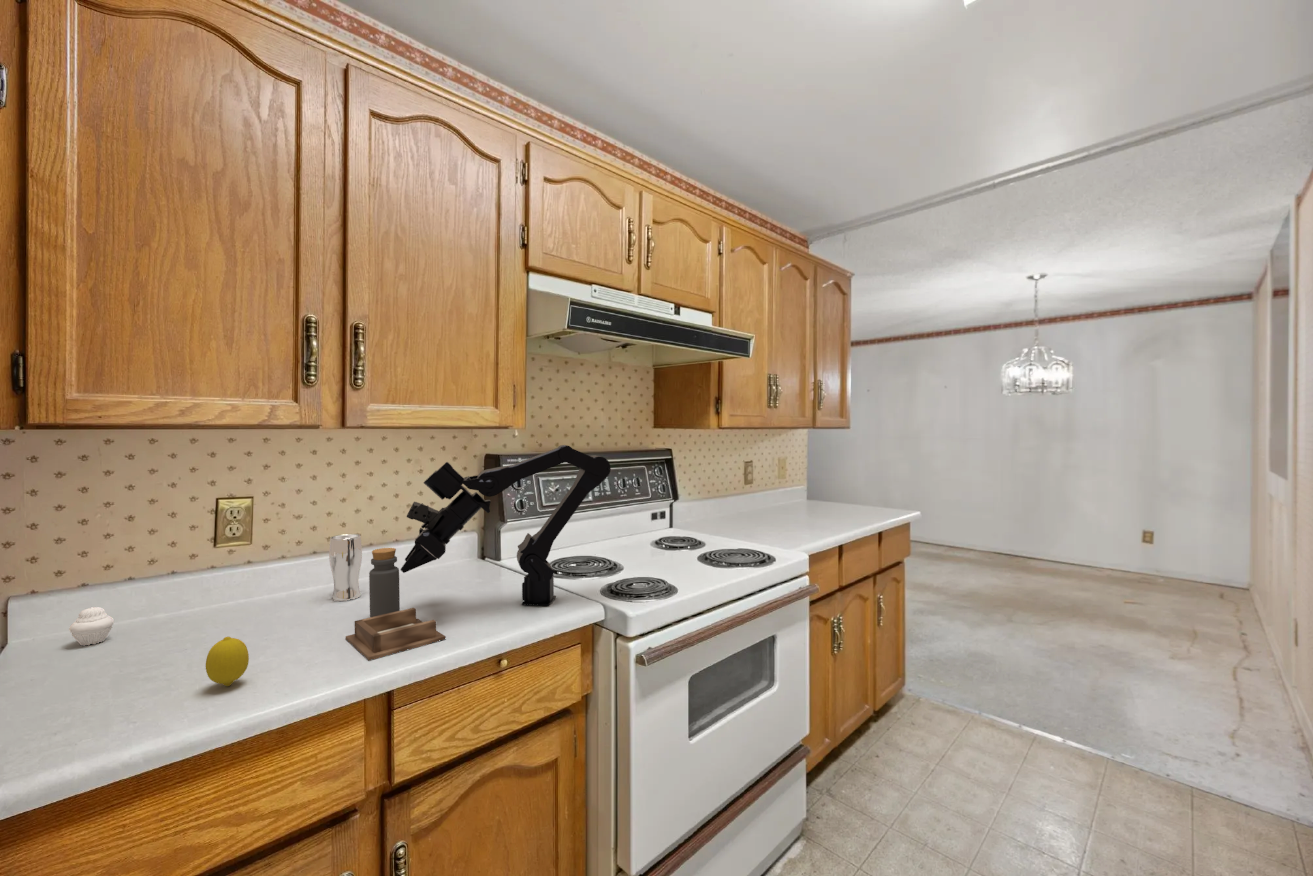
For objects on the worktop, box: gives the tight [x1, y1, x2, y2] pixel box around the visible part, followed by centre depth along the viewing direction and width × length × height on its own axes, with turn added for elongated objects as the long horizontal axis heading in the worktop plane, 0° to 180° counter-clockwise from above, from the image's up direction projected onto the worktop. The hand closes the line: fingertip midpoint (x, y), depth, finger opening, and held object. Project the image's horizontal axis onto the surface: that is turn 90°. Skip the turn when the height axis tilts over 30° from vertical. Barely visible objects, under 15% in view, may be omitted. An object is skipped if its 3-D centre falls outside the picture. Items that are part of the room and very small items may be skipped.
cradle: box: [345, 607, 447, 661], centre depth 109 cm, size 14×14×4 cm
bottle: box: [368, 547, 401, 618], centre depth 121 cm, size 6×6×15 cm
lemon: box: [205, 636, 250, 687], centre depth 90 cm, size 6×6×8 cm
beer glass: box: [328, 533, 363, 602], centre depth 136 cm, size 7×7×15 cm
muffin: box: [68, 606, 115, 647], centre depth 108 cm, size 6×6×7 cm
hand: (404, 566), depth 122 cm, fingers open, 9 cm apart
